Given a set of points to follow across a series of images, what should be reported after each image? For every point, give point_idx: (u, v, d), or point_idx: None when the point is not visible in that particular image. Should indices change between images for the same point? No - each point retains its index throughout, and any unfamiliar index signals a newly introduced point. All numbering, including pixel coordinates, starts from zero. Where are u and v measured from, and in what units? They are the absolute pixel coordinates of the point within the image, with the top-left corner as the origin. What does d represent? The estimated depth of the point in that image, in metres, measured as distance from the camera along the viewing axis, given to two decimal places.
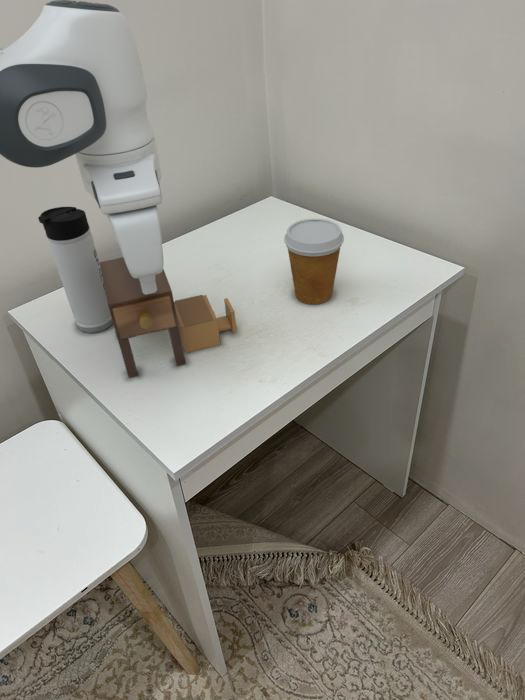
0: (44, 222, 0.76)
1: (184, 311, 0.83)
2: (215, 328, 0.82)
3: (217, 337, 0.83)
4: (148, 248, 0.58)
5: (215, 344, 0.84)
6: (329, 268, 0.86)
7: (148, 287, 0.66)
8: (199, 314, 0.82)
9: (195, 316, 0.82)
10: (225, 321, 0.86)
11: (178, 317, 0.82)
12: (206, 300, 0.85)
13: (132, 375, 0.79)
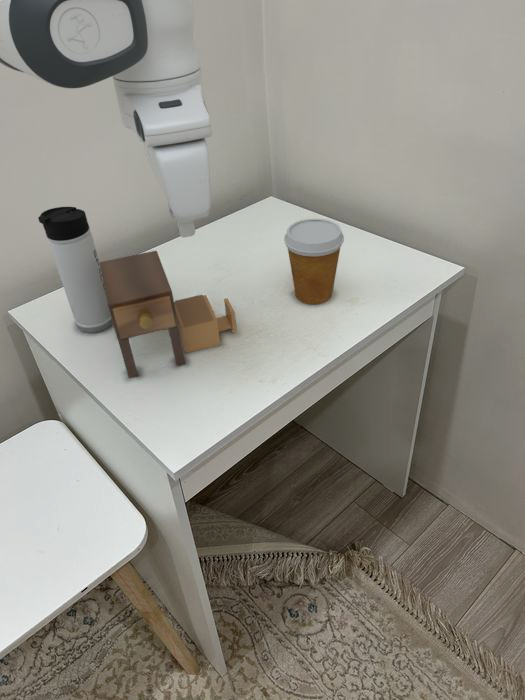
0: (44, 222, 0.76)
1: (184, 311, 0.83)
2: (215, 328, 0.82)
3: (217, 337, 0.83)
4: (195, 186, 0.53)
5: (215, 344, 0.84)
6: (329, 268, 0.86)
7: (186, 229, 0.62)
8: (199, 314, 0.82)
9: (195, 316, 0.82)
10: (225, 321, 0.86)
11: (178, 317, 0.82)
12: (206, 300, 0.85)
13: (132, 375, 0.79)
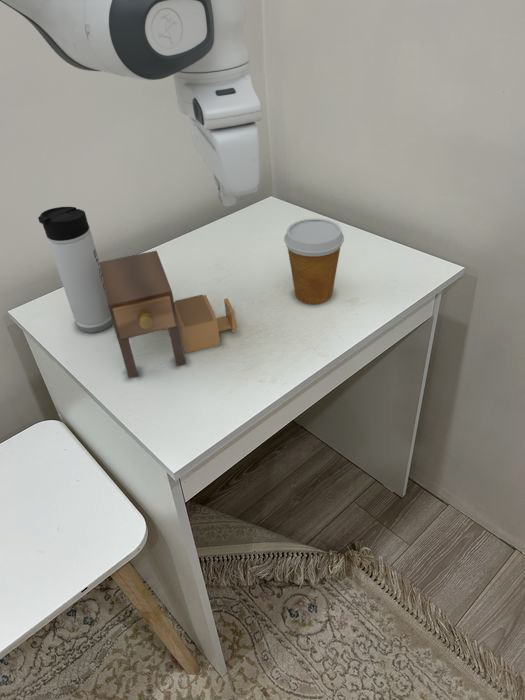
0: (44, 222, 0.76)
1: (184, 311, 0.83)
2: (215, 328, 0.82)
3: (217, 337, 0.83)
4: (247, 164, 0.60)
5: (215, 344, 0.84)
6: (329, 268, 0.86)
7: (228, 199, 0.71)
8: (199, 314, 0.82)
9: (195, 316, 0.82)
10: (225, 321, 0.86)
11: (178, 317, 0.82)
12: (206, 300, 0.85)
13: (132, 375, 0.79)
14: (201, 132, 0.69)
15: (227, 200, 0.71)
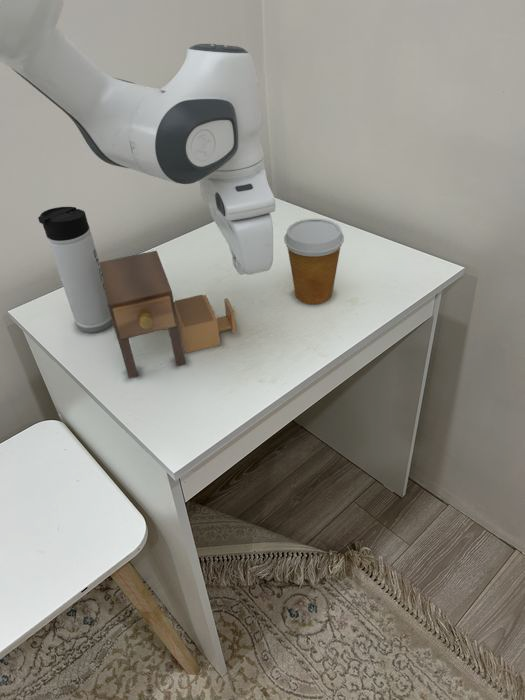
0: (44, 222, 0.76)
1: (184, 311, 0.83)
2: (215, 328, 0.82)
3: (217, 337, 0.83)
4: (262, 249, 0.69)
5: (215, 344, 0.84)
6: (329, 268, 0.86)
7: (243, 268, 0.80)
8: (199, 314, 0.82)
9: (195, 316, 0.82)
10: (225, 321, 0.86)
11: (178, 317, 0.82)
12: (206, 300, 0.85)
13: (132, 375, 0.79)
14: (219, 211, 0.77)
15: (242, 269, 0.80)
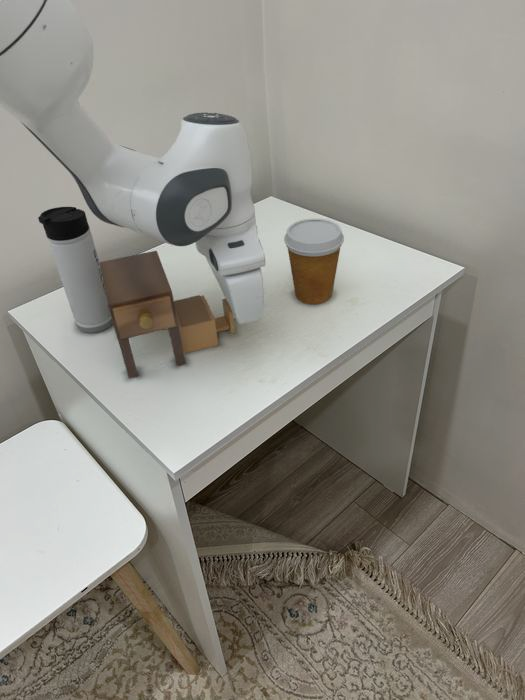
0: (44, 222, 0.76)
1: (182, 311, 0.83)
2: (213, 329, 0.82)
3: (215, 337, 0.83)
4: (253, 301, 0.73)
5: (213, 344, 0.84)
6: (329, 268, 0.86)
7: None
8: (197, 315, 0.82)
9: (193, 316, 0.81)
10: (223, 321, 0.86)
11: None
12: (204, 300, 0.85)
13: (132, 375, 0.79)
14: None
15: None
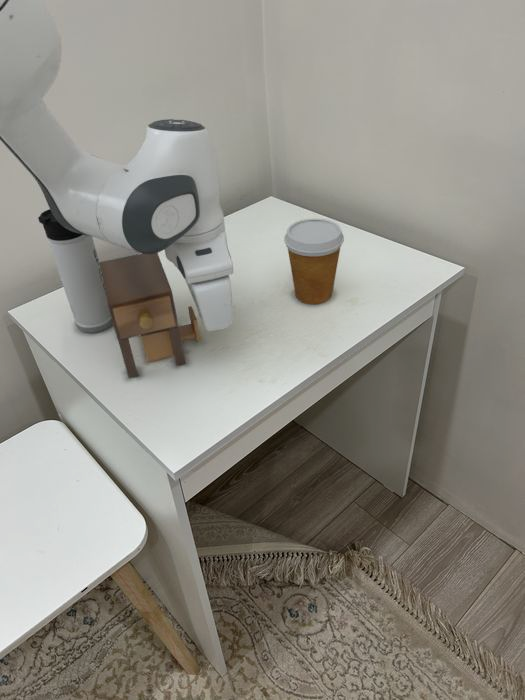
0: (44, 222, 0.76)
1: None
2: None
3: None
4: (221, 308, 0.72)
5: None
6: (329, 268, 0.86)
7: None
8: None
9: None
10: (189, 329, 0.85)
11: None
12: None
13: (132, 375, 0.79)
14: None
15: None
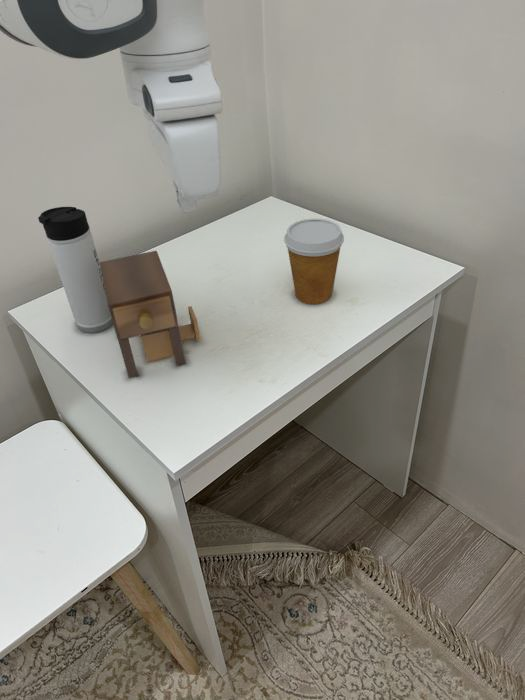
0: (44, 222, 0.76)
1: None
2: None
3: None
4: (205, 163, 0.51)
5: None
6: (329, 268, 0.86)
7: (188, 204, 0.62)
8: None
9: None
10: (189, 329, 0.85)
11: None
12: None
13: (132, 375, 0.79)
14: (157, 127, 0.60)
15: (186, 205, 0.62)
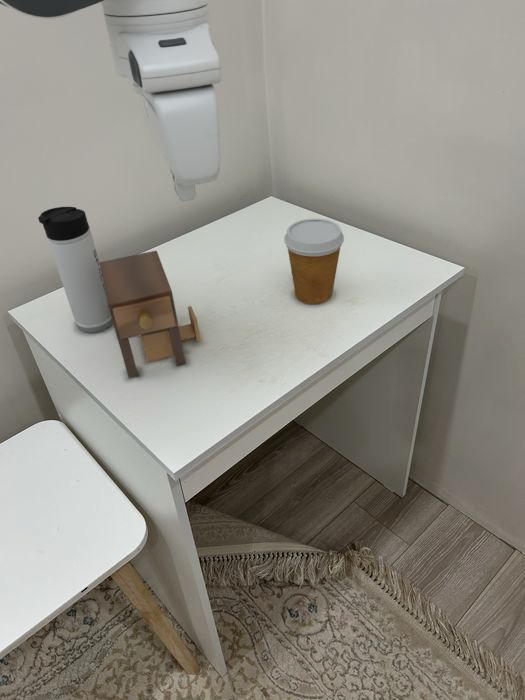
0: (44, 222, 0.76)
1: None
2: None
3: None
4: (202, 142, 0.44)
5: None
6: (329, 268, 0.86)
7: (186, 192, 0.55)
8: None
9: None
10: (189, 329, 0.85)
11: None
12: None
13: (132, 375, 0.79)
14: (150, 104, 0.53)
15: (184, 192, 0.55)
